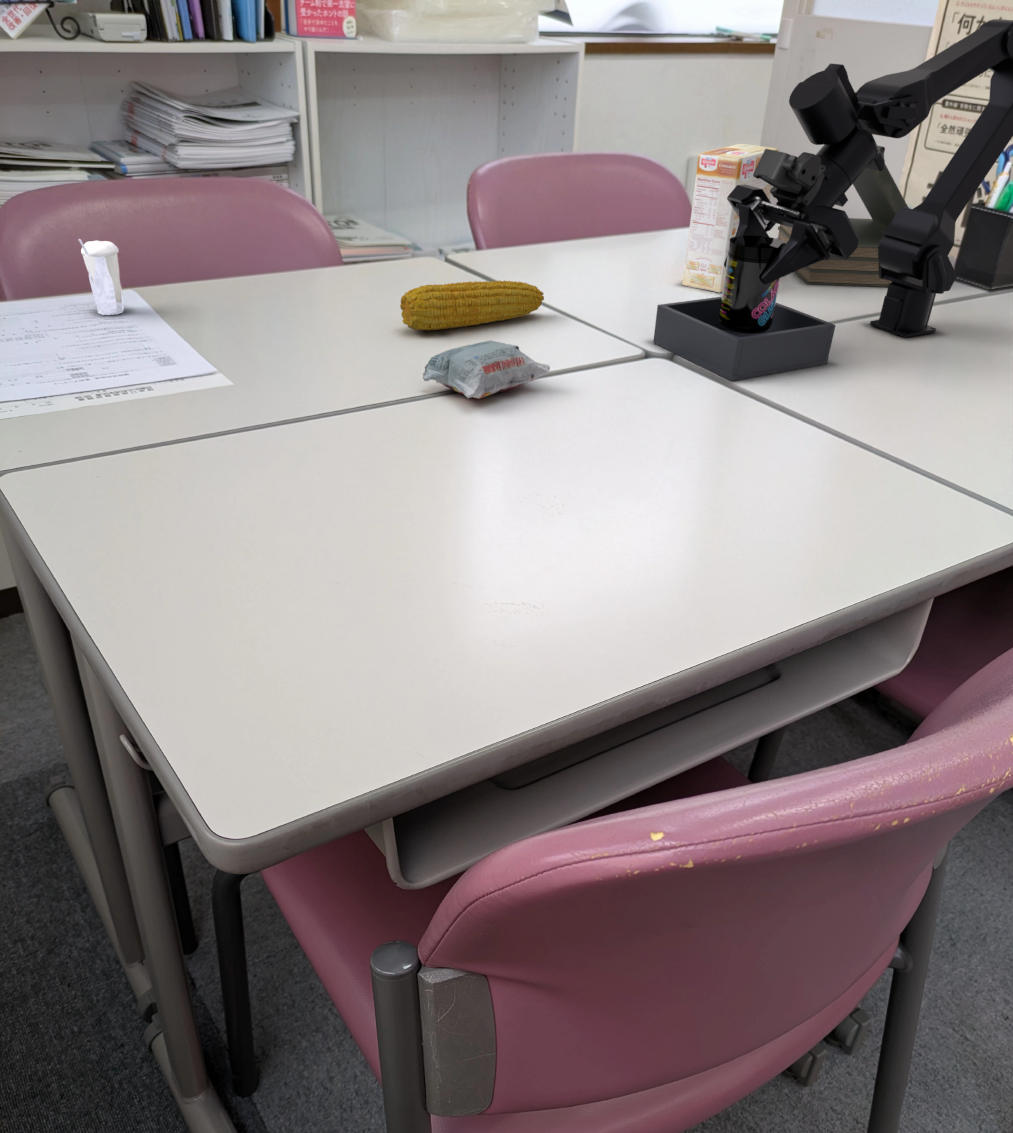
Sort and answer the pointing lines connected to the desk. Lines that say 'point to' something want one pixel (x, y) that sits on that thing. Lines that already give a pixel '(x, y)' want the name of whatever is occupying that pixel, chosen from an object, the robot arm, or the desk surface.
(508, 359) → the packaged food
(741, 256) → the supplement container
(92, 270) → the milkshake
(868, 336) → the desk surface
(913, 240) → the robot arm
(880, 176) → the stack of books
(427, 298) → the food
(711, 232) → the coffeecake box
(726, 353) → the square tray
